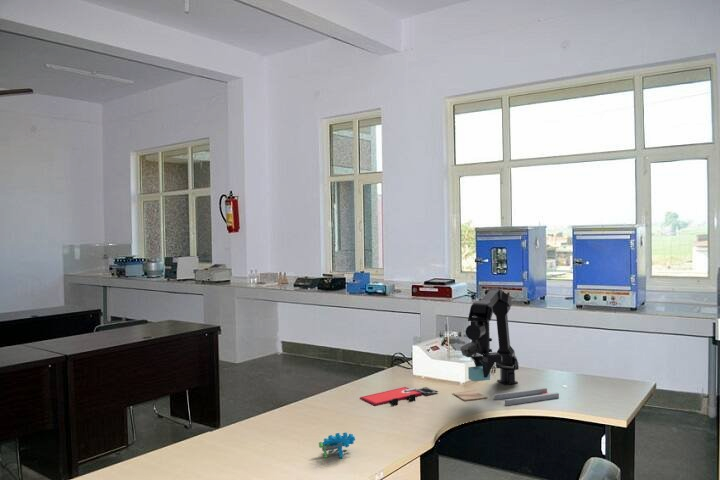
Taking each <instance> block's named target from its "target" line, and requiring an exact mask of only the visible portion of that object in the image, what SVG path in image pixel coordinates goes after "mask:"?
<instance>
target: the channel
mask: <svg viewBox="0 0 720 480" xmlns="http://www.w3.org/2000/svg"><path fill="white" fill-rule="evenodd" d="M559 397H560V393H559V392H556V391H555V392H548V388H547V387H539V388H533V389H523V390H517V391H509V392H504V393H503V392H502V393H494V394H493V399H494V400H495V401H497V400H499V401H500V400H504V405H505V406H512V405H518V404H525V403H532V402H538V401H539V402H541V401H545V400H546V401H547V400H554V399H560V398H559Z"/></svg>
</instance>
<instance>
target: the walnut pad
mask: <svg viewBox="0 0 720 480" xmlns="http://www.w3.org/2000/svg"><path fill="white" fill-rule="evenodd" d="M452 395H453V396H455V397H456V398H458V399H460V400H462V401H464V402H472V401H478V400H486V399H488V396H486V395H484V394H482V393H480V392H478V391H476V390H475V389H474V390H472V389H471V390H465V391H457V392H452Z"/></svg>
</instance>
